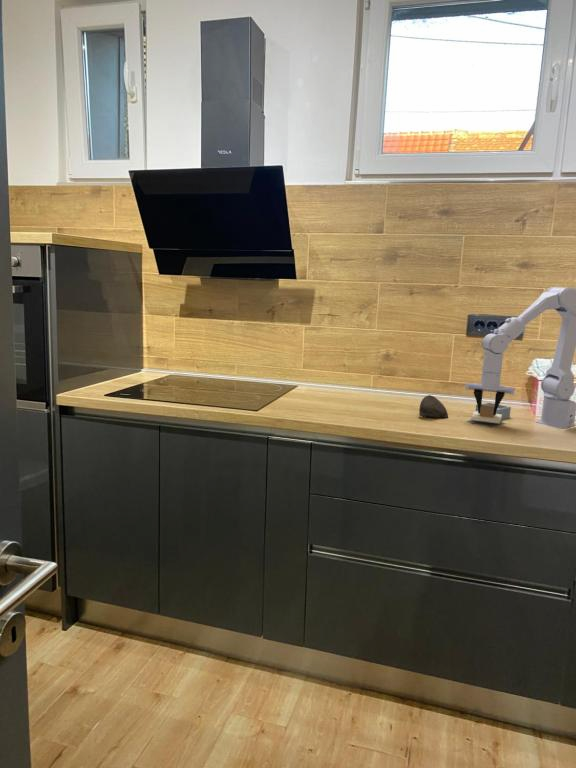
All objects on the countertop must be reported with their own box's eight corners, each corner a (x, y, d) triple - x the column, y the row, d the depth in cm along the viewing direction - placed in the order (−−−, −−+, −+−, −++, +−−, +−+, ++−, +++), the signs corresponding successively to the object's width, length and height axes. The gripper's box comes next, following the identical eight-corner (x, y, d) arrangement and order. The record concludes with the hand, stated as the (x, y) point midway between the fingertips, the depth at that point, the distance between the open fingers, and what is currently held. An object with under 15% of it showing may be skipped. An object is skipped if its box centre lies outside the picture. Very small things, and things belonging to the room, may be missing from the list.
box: (509, 418, 190) (510, 407, 190) (496, 421, 185) (497, 409, 185) (487, 413, 196) (489, 402, 196) (474, 416, 191) (476, 405, 191)
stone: (436, 424, 194) (416, 402, 195) (454, 410, 189) (434, 388, 190) (428, 435, 186) (407, 412, 187) (447, 420, 181) (425, 396, 182)
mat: (506, 424, 182) (506, 423, 182) (491, 428, 176) (491, 427, 176) (481, 418, 188) (481, 417, 188) (465, 422, 183) (465, 421, 183)
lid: (501, 417, 184) (503, 404, 183) (499, 423, 177) (501, 410, 176) (474, 414, 188) (475, 401, 187) (471, 419, 180) (472, 407, 179)
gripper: (516, 372, 180) (511, 414, 182) (469, 368, 186) (465, 408, 188) (515, 375, 174) (510, 418, 176) (466, 370, 179) (462, 412, 182)
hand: (487, 413), depth 182 cm, fingers closed on lid, 4 cm apart
